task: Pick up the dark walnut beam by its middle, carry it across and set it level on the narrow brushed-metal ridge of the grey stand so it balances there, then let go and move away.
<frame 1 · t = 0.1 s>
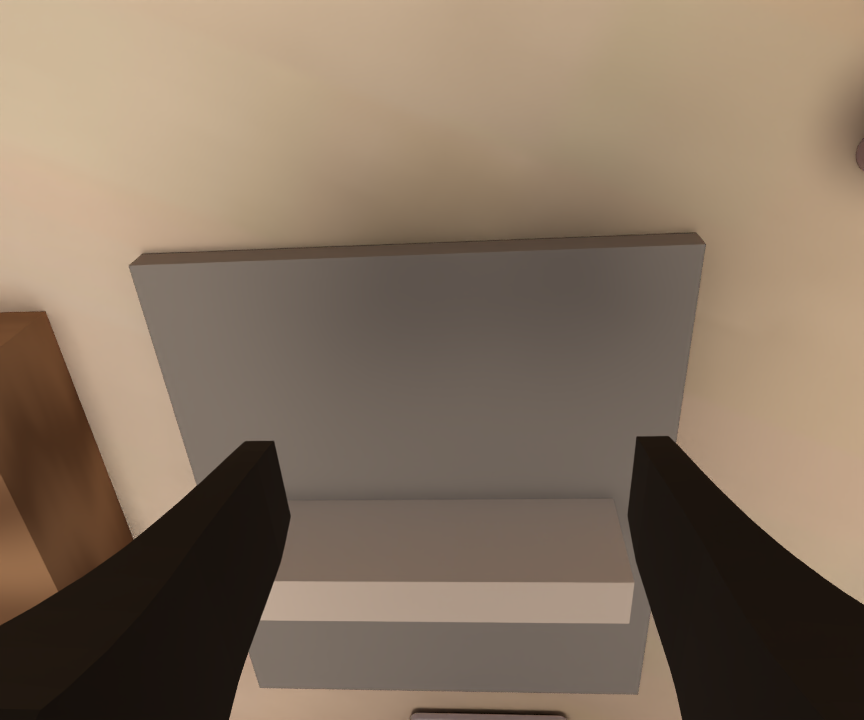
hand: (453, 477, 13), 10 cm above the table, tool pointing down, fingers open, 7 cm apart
walnut beam: (97, 532, 30), on the table
fulcrum stand: (431, 501, 27), on the table
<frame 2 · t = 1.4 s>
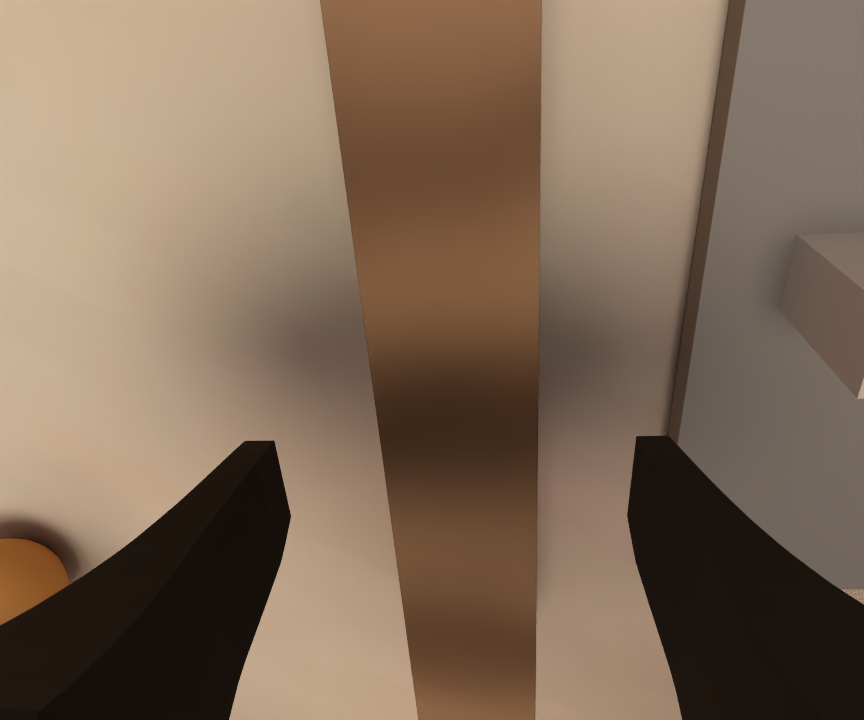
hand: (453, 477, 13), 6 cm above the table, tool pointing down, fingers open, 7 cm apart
walnut beam: (463, 329, 19), on the table
figurine: (67, 556, 25), on the table
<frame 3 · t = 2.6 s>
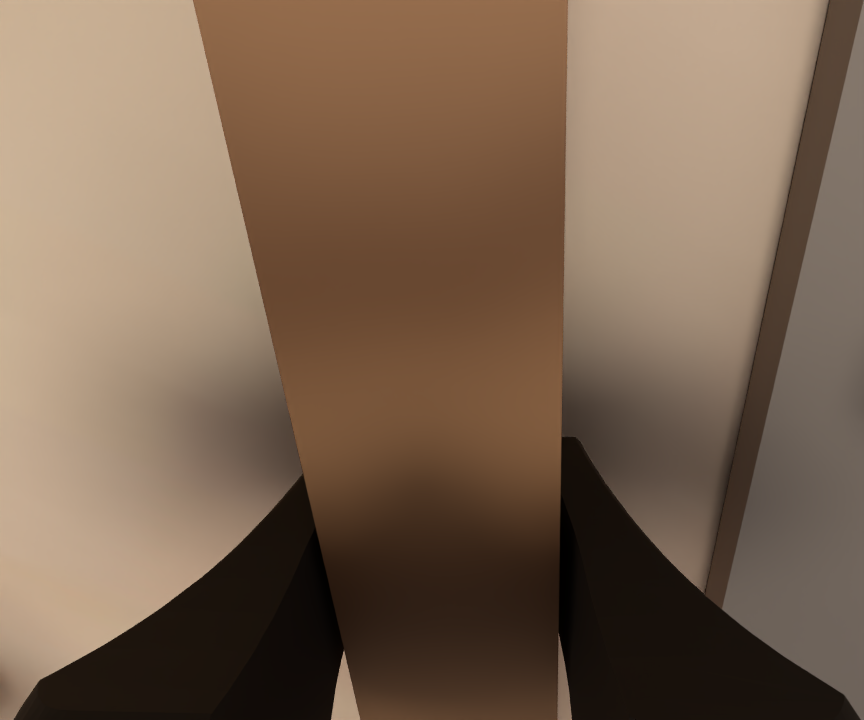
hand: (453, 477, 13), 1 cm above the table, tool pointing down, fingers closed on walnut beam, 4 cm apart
walnut beam: (455, 429, 15), on the table, touching gripper
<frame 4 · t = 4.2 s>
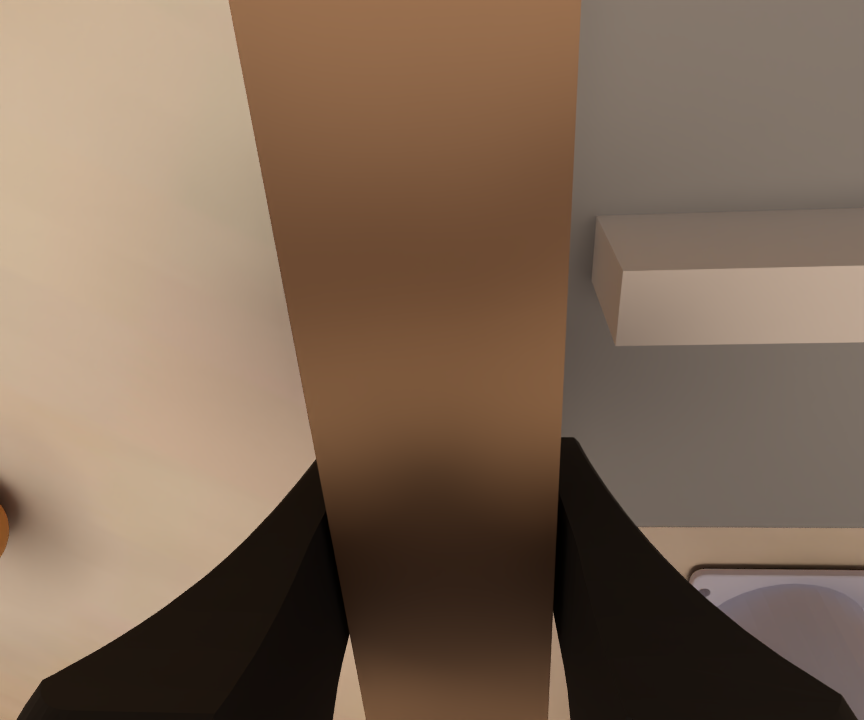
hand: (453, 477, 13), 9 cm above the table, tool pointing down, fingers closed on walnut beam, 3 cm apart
walnut beam: (454, 413, 15), point 7 cm above the table, touching gripper
fulcrum stand: (828, 230, 20), on the table
figurine: (8, 503, 28), on the table
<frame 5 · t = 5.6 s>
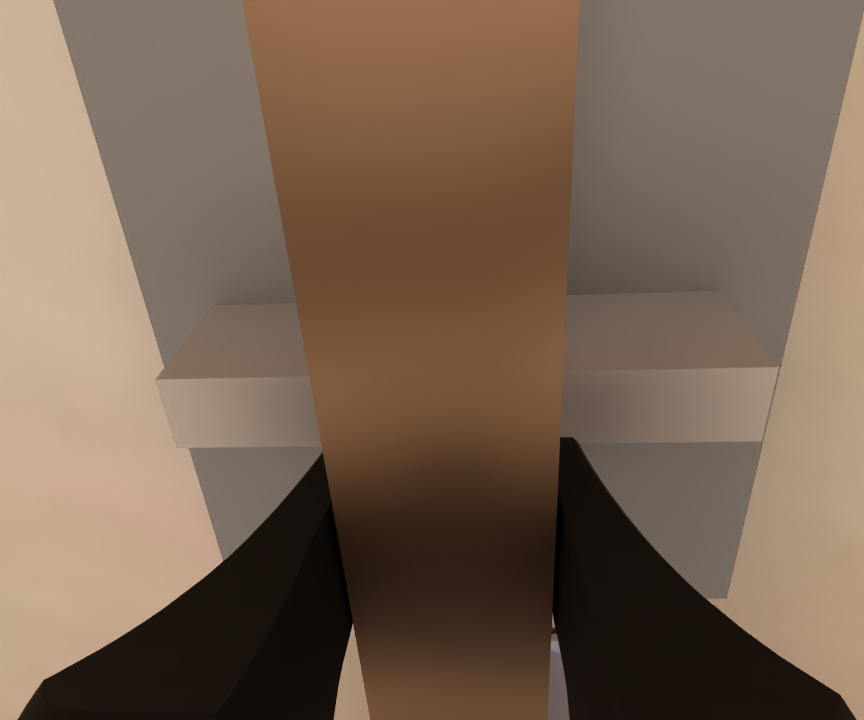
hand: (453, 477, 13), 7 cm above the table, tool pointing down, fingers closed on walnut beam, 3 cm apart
walnut beam: (456, 410, 16), point 5 cm above the table, touching fulcrum stand, gripper
fulcrum stand: (461, 314, 20), on the table
when the fingers open (7 cm above the table, at t = 6.0 s): walnut beam stays where it is, resting on fulcrum stand.
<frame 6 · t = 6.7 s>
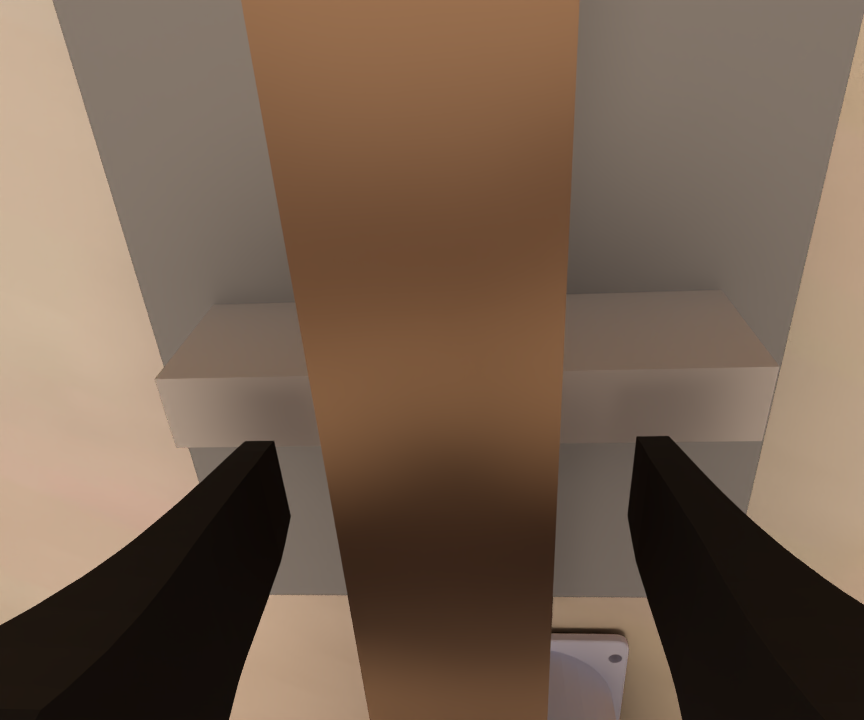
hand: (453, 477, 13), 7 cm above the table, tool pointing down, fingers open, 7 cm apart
walnut beam: (456, 409, 15), point 5 cm above the table, touching fulcrum stand
fulcrum stand: (461, 314, 20), on the table
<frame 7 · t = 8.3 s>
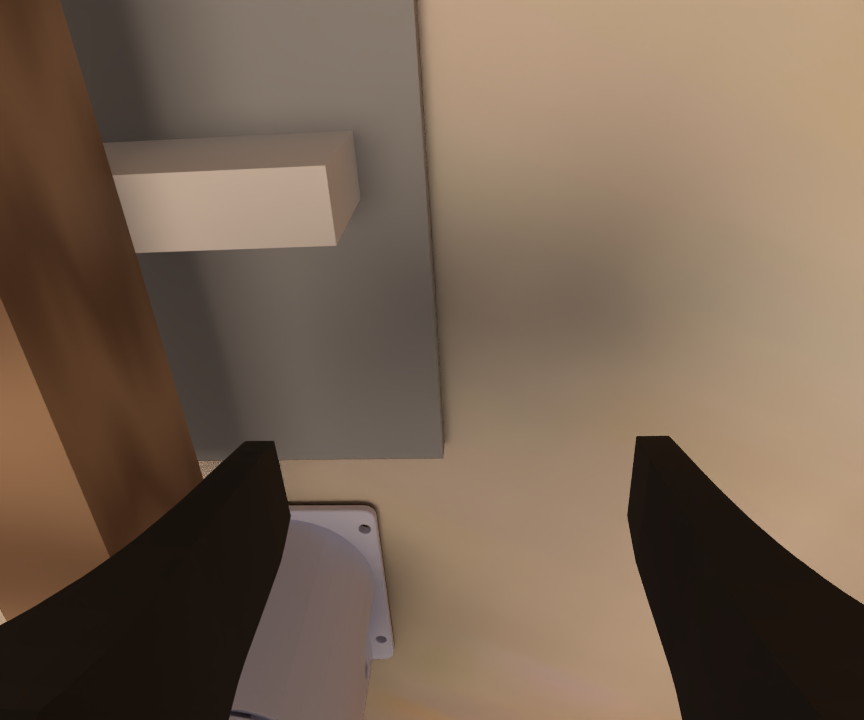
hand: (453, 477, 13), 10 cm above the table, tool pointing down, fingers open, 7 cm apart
walnut beam: (57, 217, 17), point 5 cm above the table, touching fulcrum stand
fulcrum stand: (143, 167, 21), on the table
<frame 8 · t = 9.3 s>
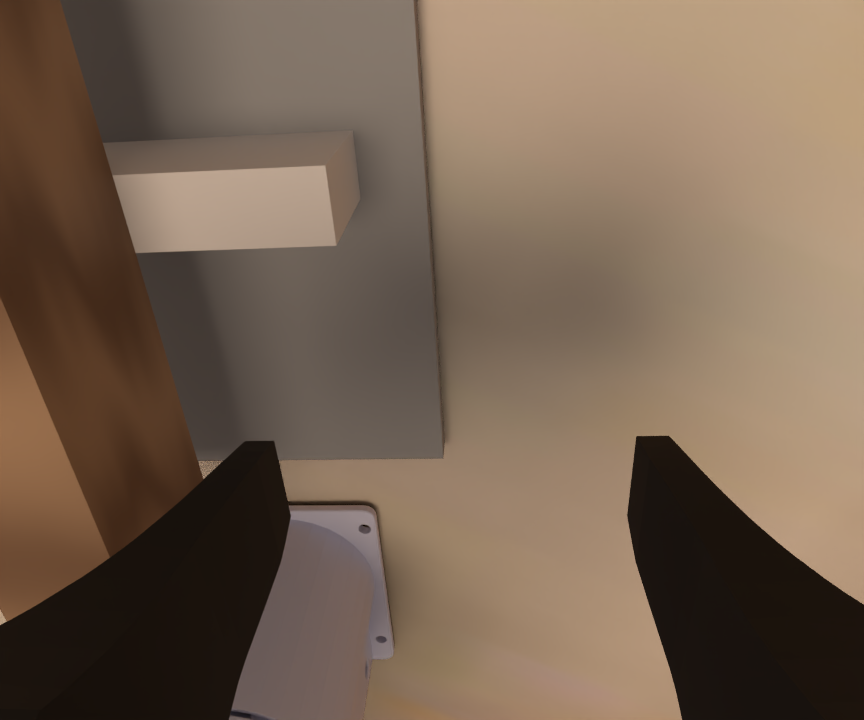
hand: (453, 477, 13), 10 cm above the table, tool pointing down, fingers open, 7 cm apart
walnut beam: (57, 217, 17), point 5 cm above the table, touching fulcrum stand
fulcrum stand: (143, 167, 21), on the table
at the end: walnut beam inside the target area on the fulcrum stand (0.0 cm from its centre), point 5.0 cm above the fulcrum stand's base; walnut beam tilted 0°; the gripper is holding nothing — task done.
